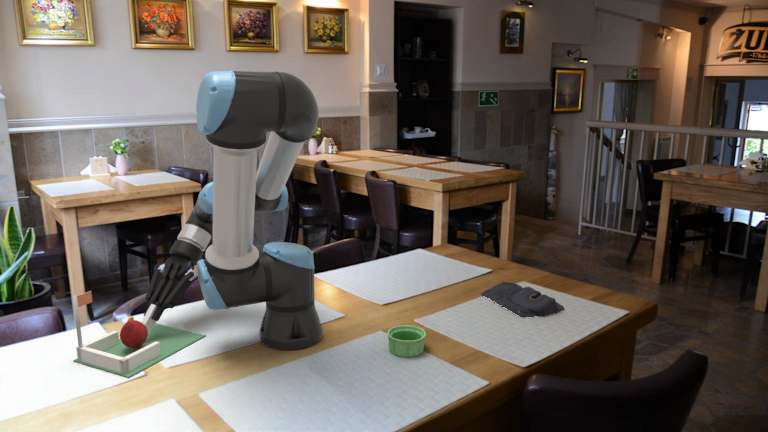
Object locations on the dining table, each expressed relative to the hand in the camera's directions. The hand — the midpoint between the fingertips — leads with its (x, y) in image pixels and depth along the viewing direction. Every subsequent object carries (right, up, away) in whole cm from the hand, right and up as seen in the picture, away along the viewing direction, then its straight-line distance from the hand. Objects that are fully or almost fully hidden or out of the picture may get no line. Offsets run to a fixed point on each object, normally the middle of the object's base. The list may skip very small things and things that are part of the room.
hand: (143, 331), depth 136 cm
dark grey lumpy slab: (+96, +2, +29) cm, 100 cm away
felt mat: (+1, -4, -2) cm, 4 cm away
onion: (0, -4, -3) cm, 5 cm away
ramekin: (+62, -4, -1) cm, 62 cm away
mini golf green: (-2, -5, -7) cm, 9 cm away
